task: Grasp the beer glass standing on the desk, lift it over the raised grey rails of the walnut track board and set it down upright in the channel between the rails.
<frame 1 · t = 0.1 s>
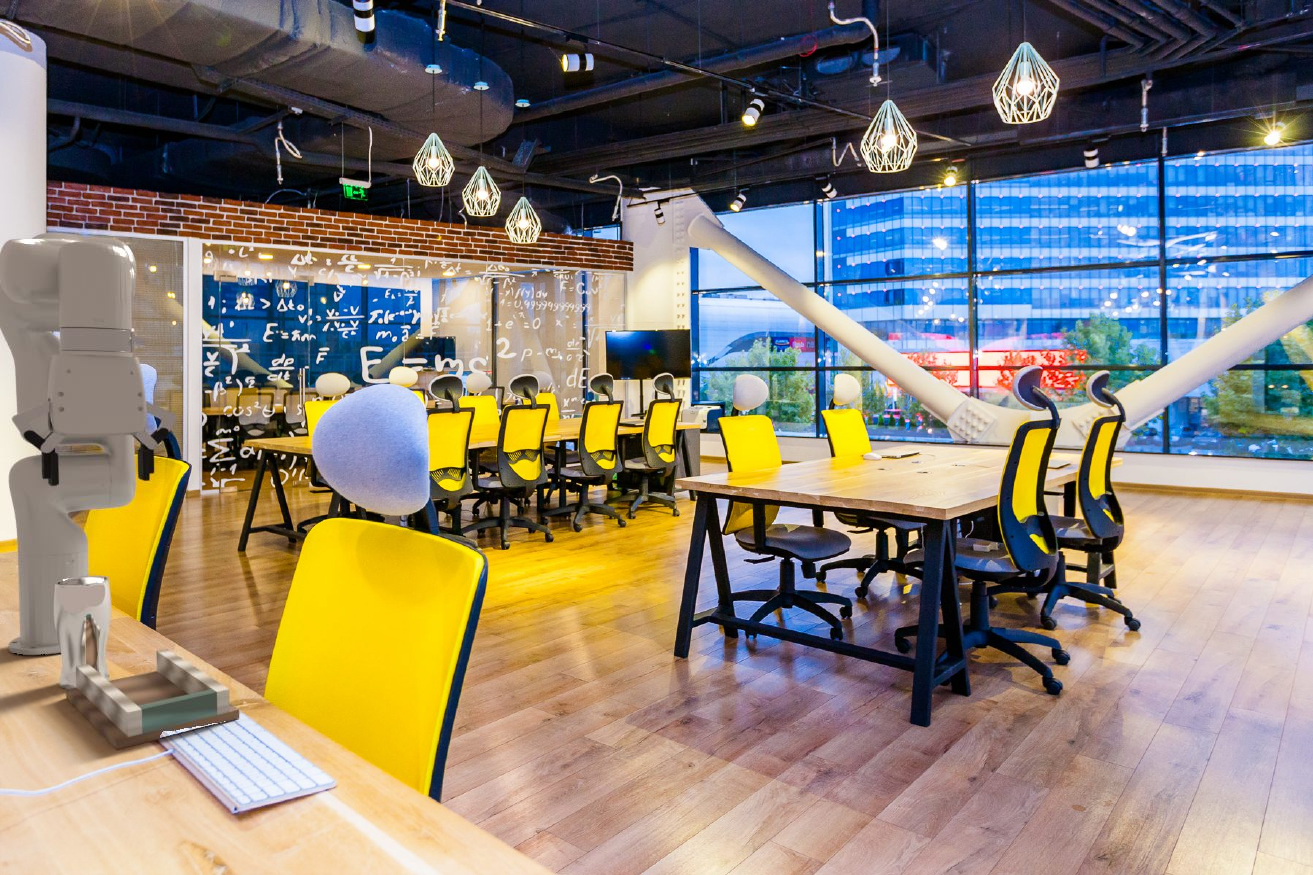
hand: (100, 482, 108), 31 cm above the table, tool pointing down, fingers open, 9 cm apart
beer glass: (84, 683, 126), on the table
track board: (150, 707, 116), on the table
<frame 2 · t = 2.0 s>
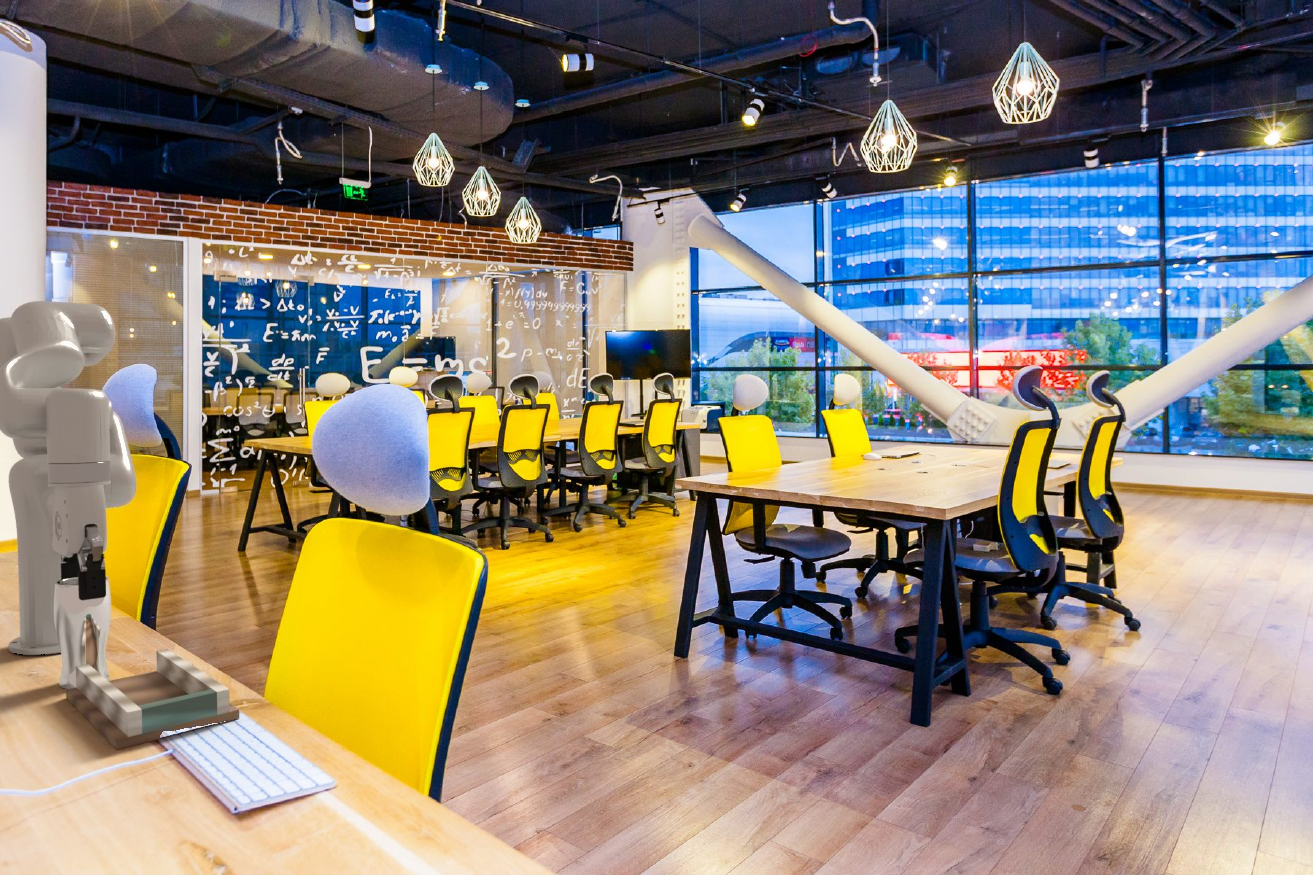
hand: (83, 593, 125), 13 cm above the table, tool pointing down, fingers open, 9 cm apart
nothing on the table moved.
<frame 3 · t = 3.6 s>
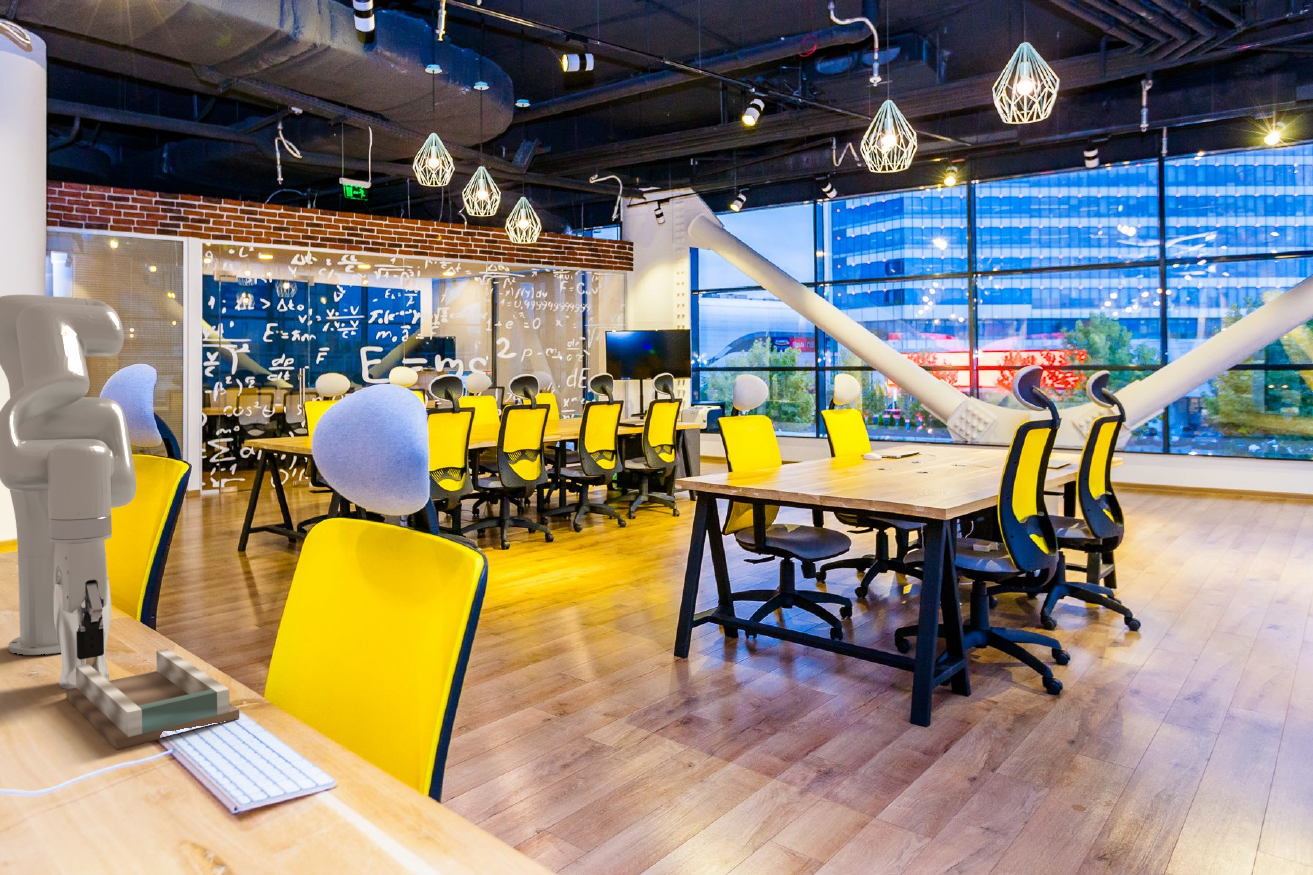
hand: (83, 650, 126), 5 cm above the table, tool pointing down, fingers closed on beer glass, 6 cm apart
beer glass: (84, 683, 126), on the table, touching gripper
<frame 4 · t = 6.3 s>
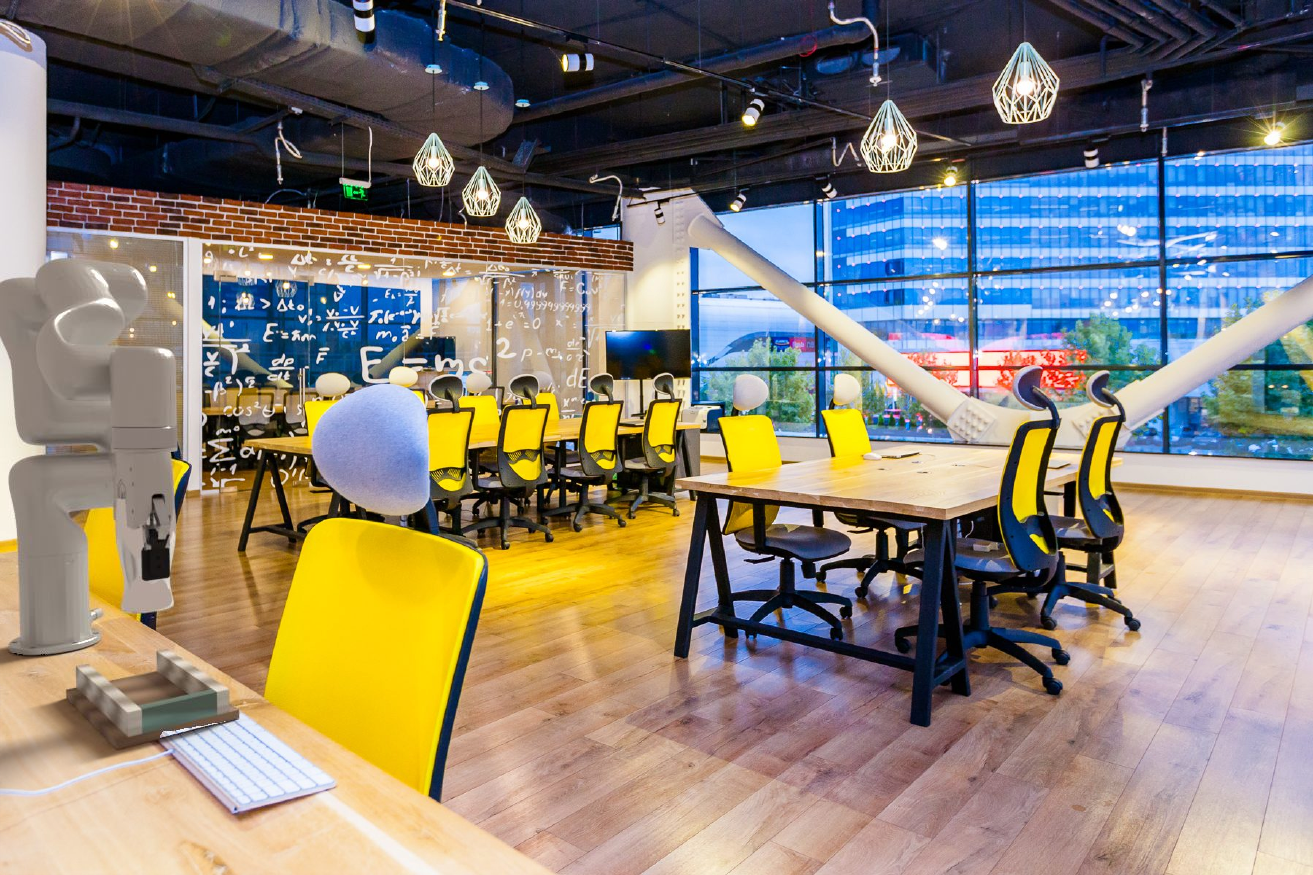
hand: (147, 573, 115), 18 cm above the table, tool pointing down, fingers closed on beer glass, 6 cm apart
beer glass: (147, 609, 116), point 13 cm above the table, touching gripper
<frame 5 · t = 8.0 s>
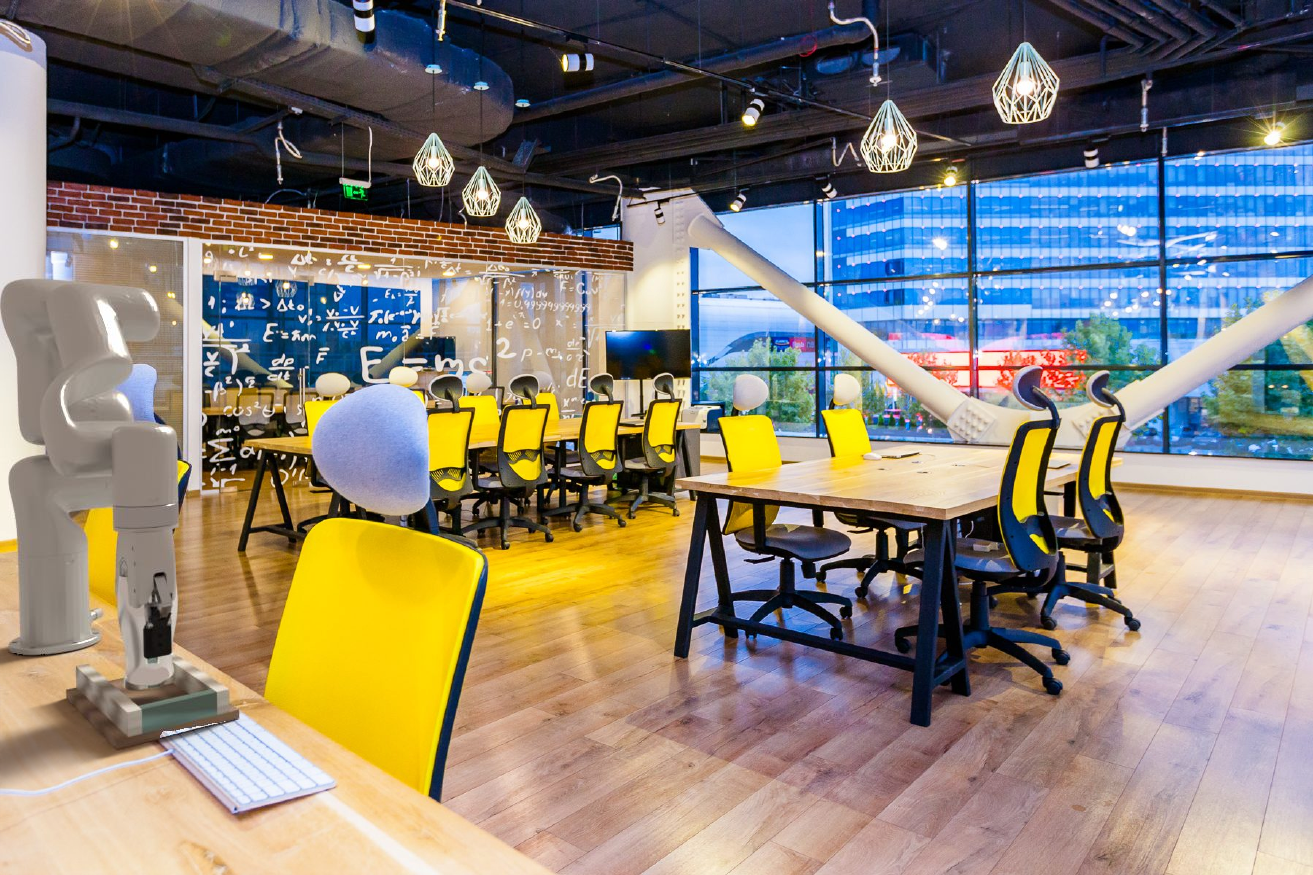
hand: (149, 649, 116), 8 cm above the table, tool pointing down, fingers closed on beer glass, 6 cm apart
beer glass: (149, 684, 116), point 3 cm above the table, touching gripper
when the fingers open (7 cm above the table, at t = 9.2 s): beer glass drops 1 cm, resting on track board.
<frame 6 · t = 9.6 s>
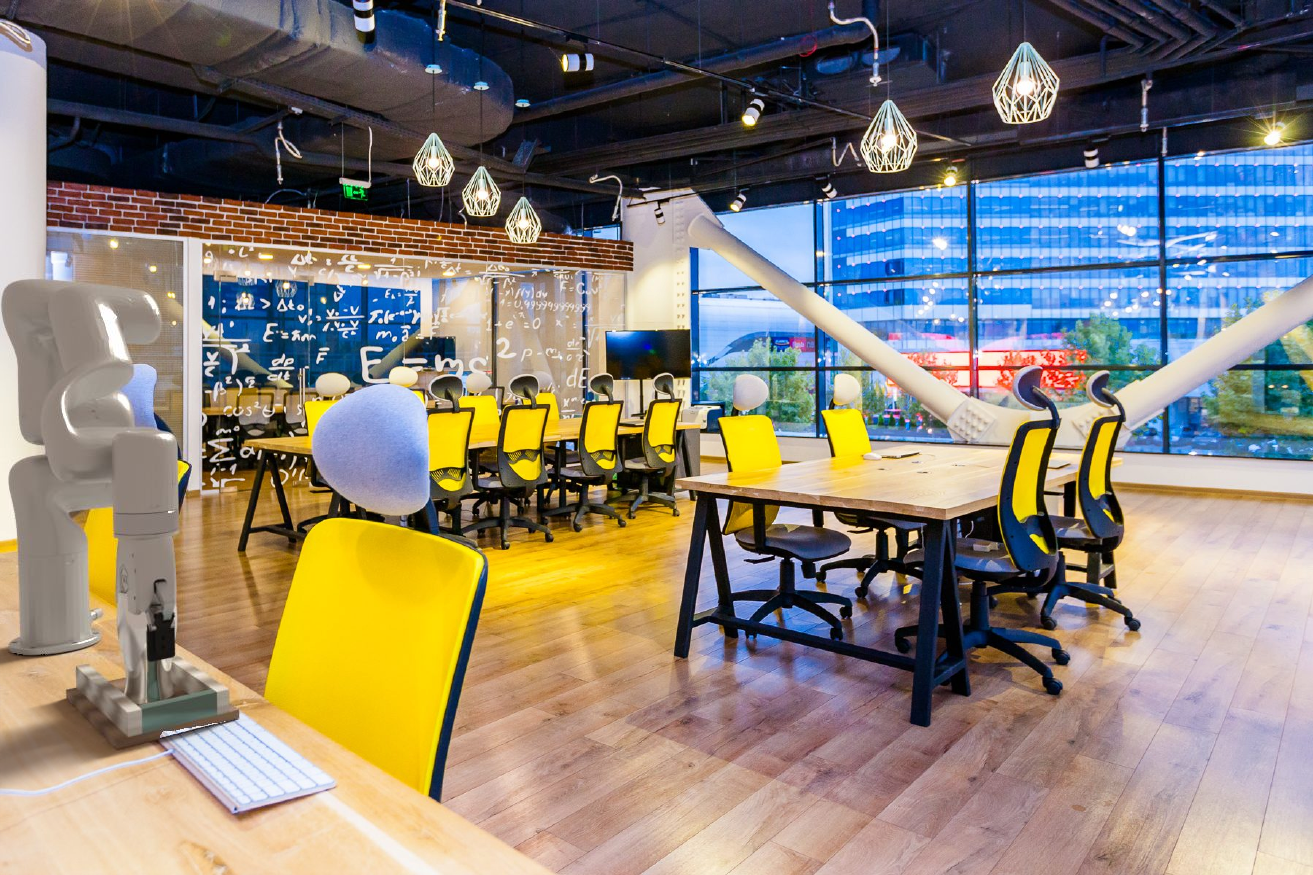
hand: (149, 650, 116), 8 cm above the table, tool pointing down, fingers open, 9 cm apart
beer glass: (149, 700, 116), point 1 cm above the table, touching track board
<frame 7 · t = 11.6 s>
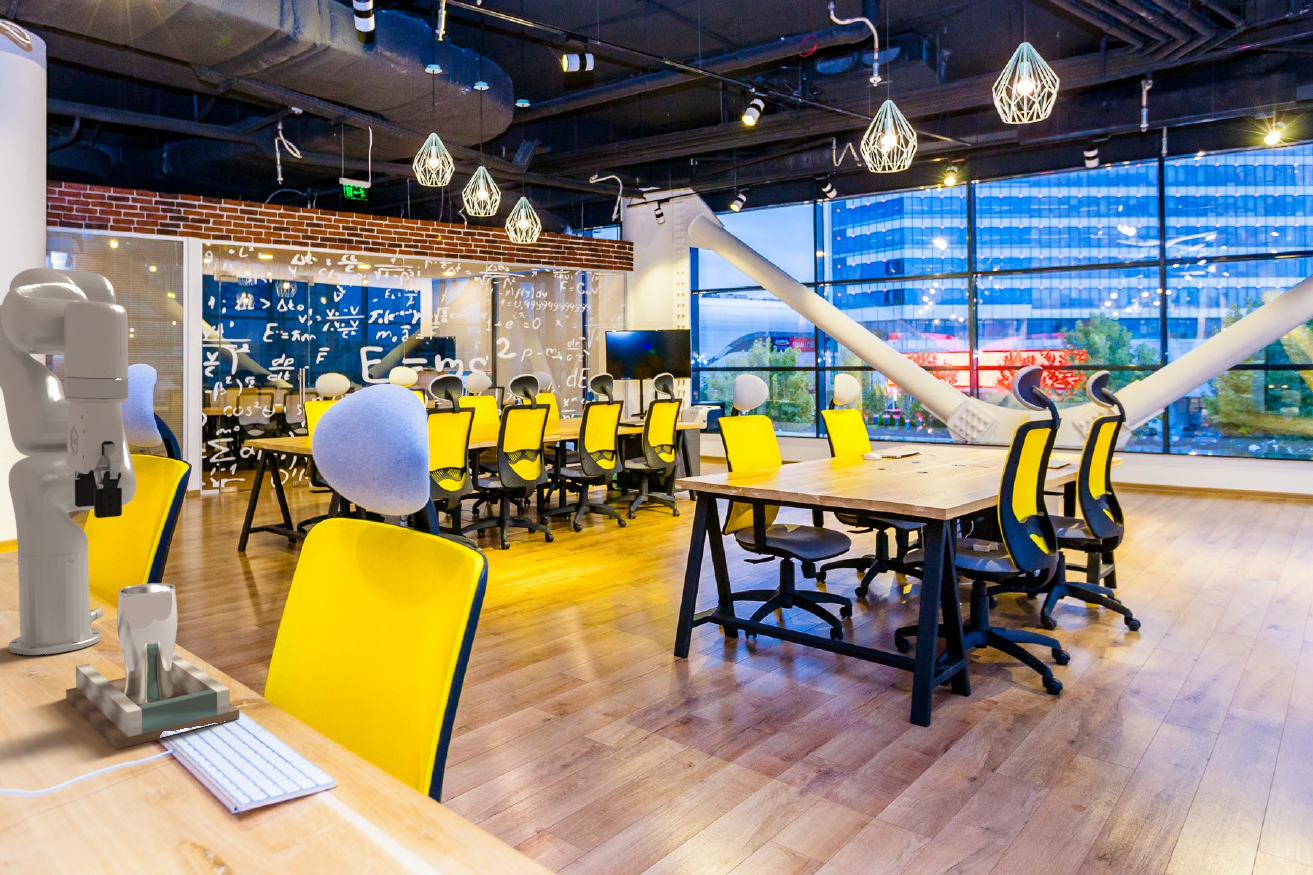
hand: (98, 511, 123), 25 cm above the table, tool pointing down, fingers open, 9 cm apart
nothing on the table moved.
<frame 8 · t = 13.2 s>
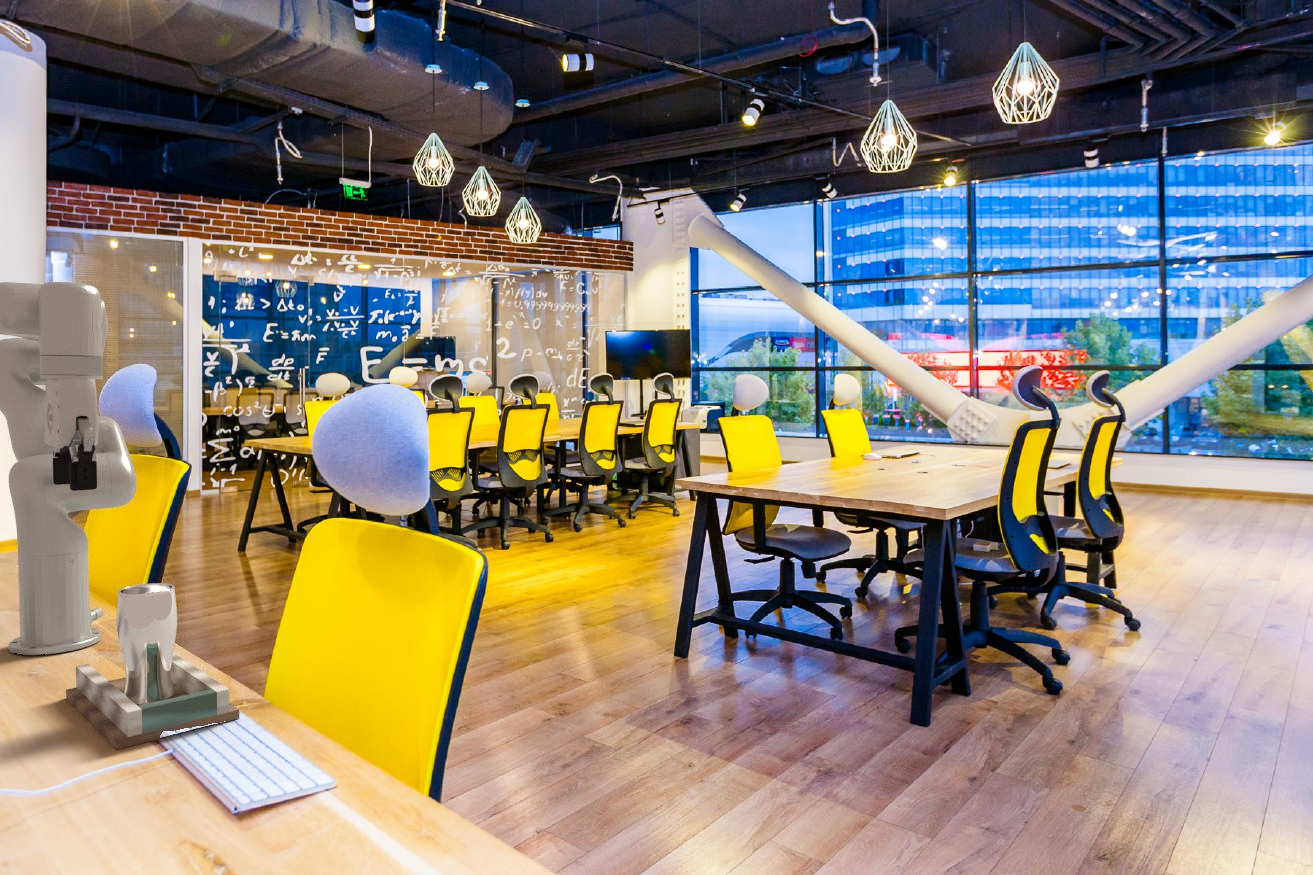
hand: (74, 486, 126), 28 cm above the table, tool pointing down, fingers open, 9 cm apart
nothing on the table moved.
at the end: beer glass 0.2 cm from the track board (horizontally); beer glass tilted 0°; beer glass point 1.0 cm above the table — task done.
